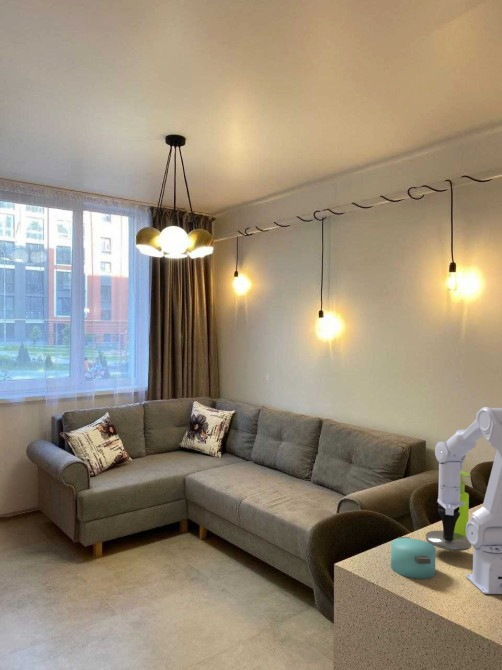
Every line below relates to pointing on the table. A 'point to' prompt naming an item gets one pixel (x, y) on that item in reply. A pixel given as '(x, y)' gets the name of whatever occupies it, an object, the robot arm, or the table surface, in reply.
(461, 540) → the lid
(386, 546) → the table surface
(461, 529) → the soap dispenser
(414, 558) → the pot
